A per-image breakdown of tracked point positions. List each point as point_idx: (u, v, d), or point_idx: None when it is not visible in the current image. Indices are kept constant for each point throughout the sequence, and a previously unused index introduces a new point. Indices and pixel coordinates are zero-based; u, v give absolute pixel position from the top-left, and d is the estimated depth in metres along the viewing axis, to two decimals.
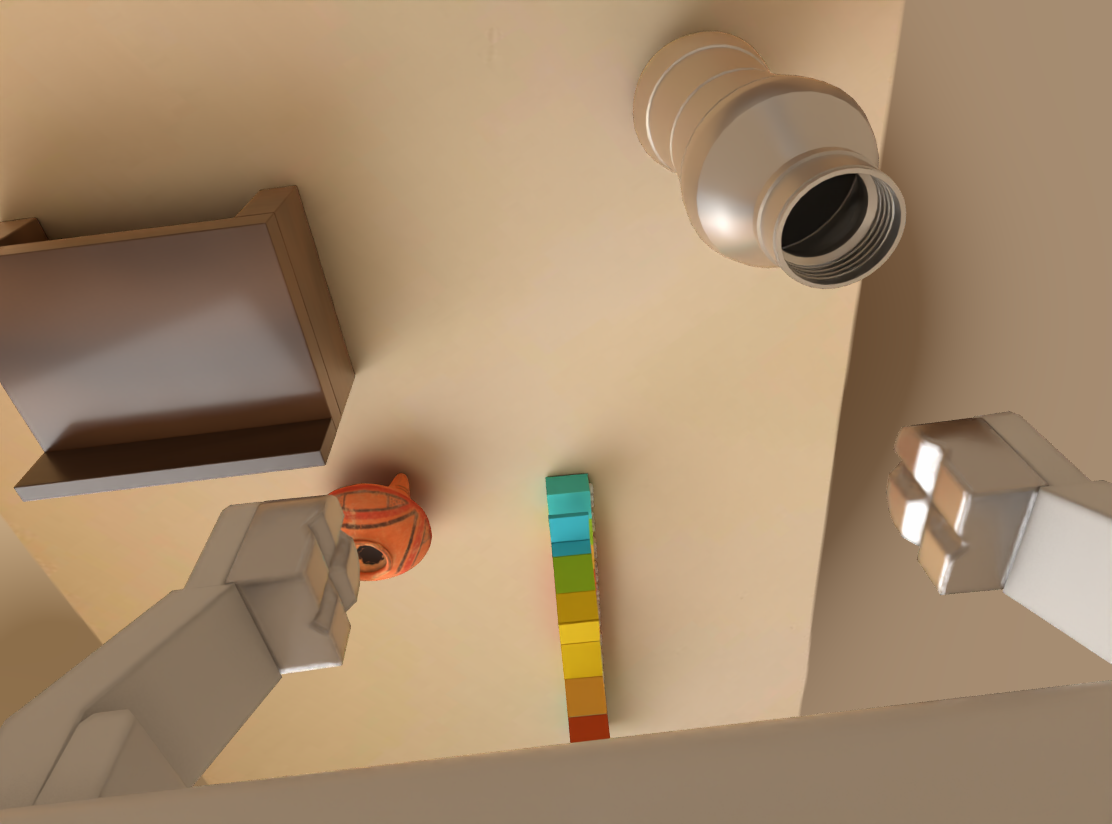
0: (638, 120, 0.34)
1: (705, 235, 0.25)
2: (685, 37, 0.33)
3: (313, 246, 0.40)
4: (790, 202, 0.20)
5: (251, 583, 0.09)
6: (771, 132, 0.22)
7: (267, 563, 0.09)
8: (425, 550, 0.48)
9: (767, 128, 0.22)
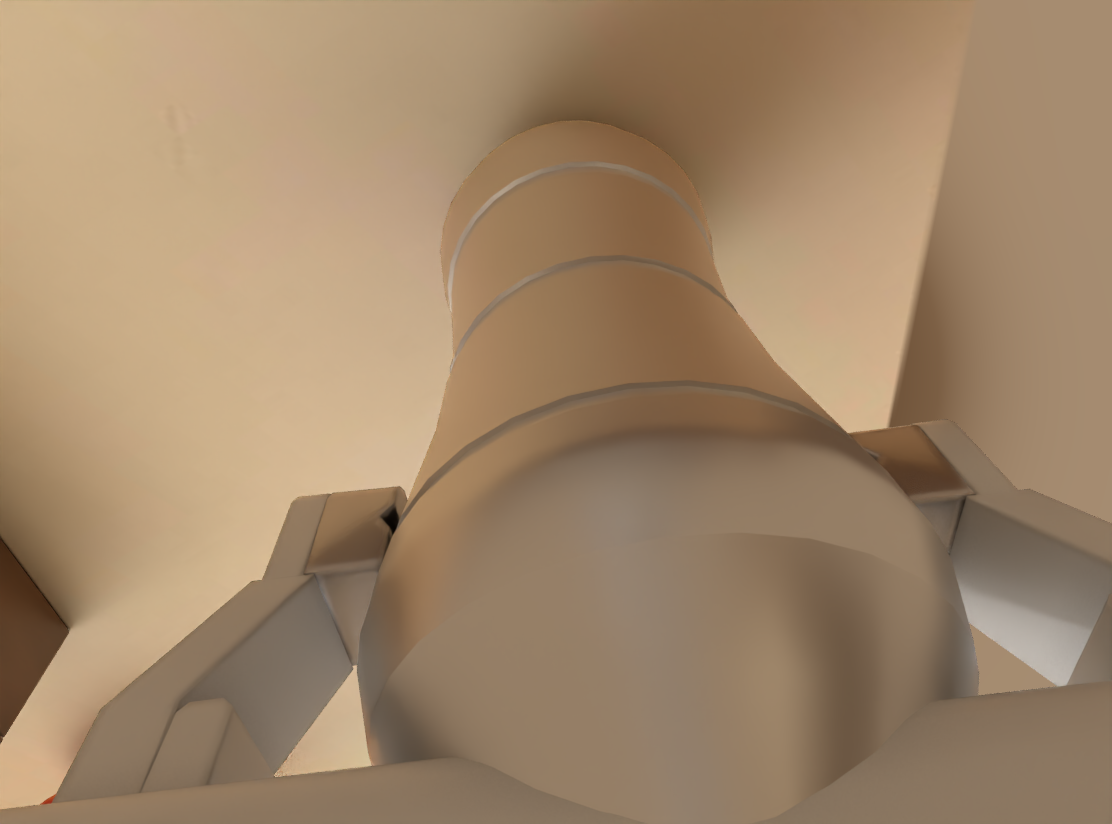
0: None
1: None
2: (527, 136, 0.16)
3: None
4: None
5: (329, 574, 0.09)
6: (568, 738, 0.05)
7: (344, 554, 0.09)
8: None
9: (553, 711, 0.05)
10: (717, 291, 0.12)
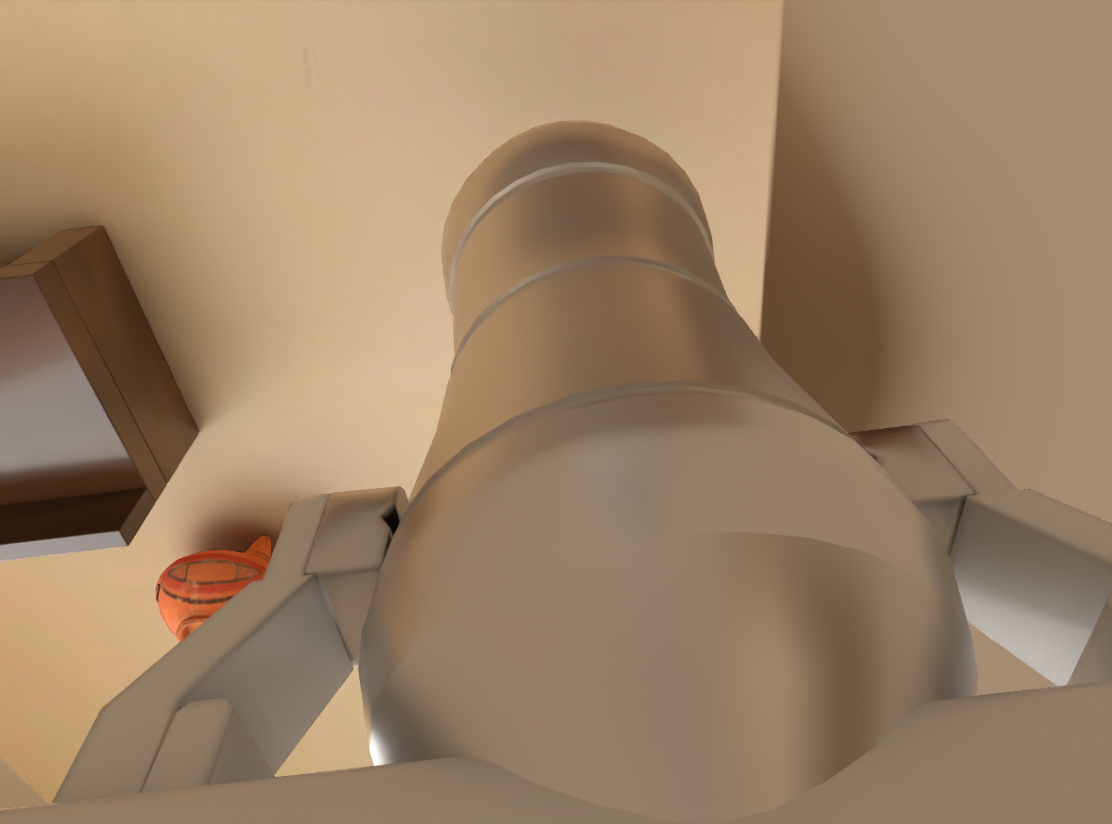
0: None
1: None
2: (528, 137, 0.16)
3: (130, 292, 0.35)
4: None
5: (330, 574, 0.09)
6: (568, 736, 0.05)
7: (344, 554, 0.09)
8: None
9: (553, 709, 0.05)
10: (717, 291, 0.12)
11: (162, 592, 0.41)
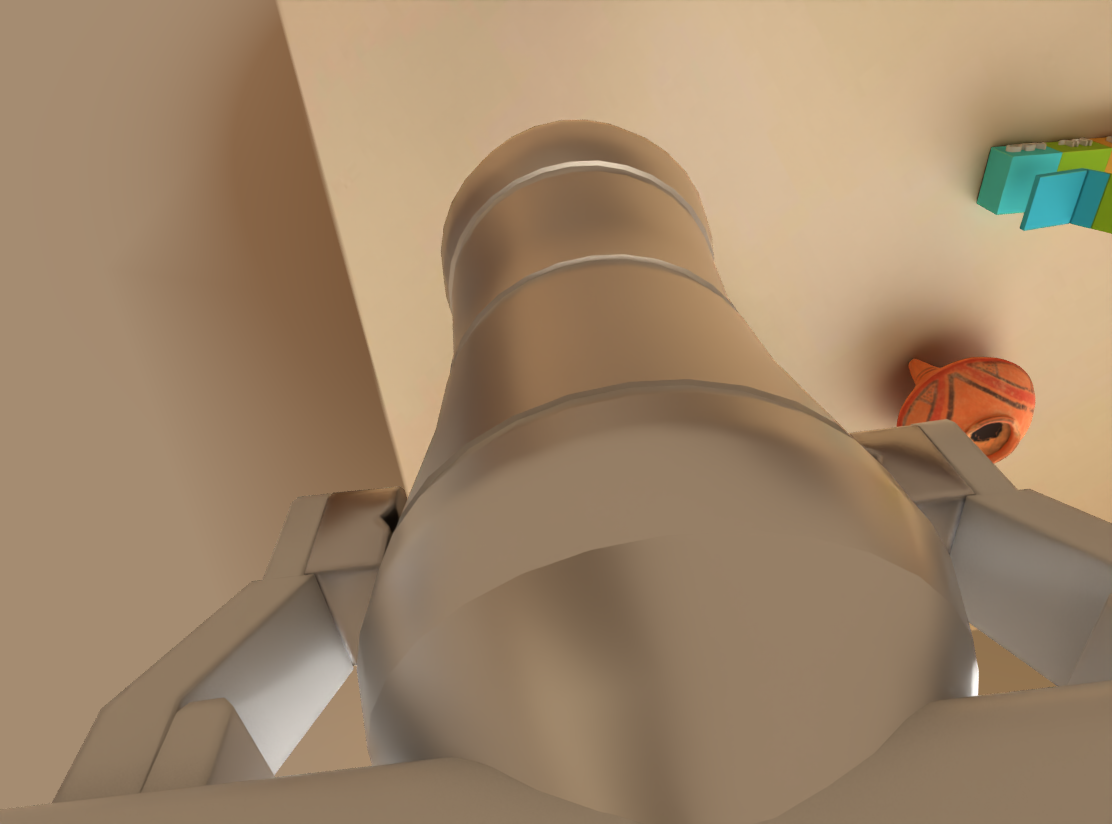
0: (446, 291, 0.17)
1: None
2: (528, 136, 0.16)
3: None
4: None
5: (330, 574, 0.09)
6: (566, 737, 0.05)
7: (344, 554, 0.09)
8: (1011, 370, 0.40)
9: (552, 709, 0.05)
10: (717, 290, 0.12)
11: None
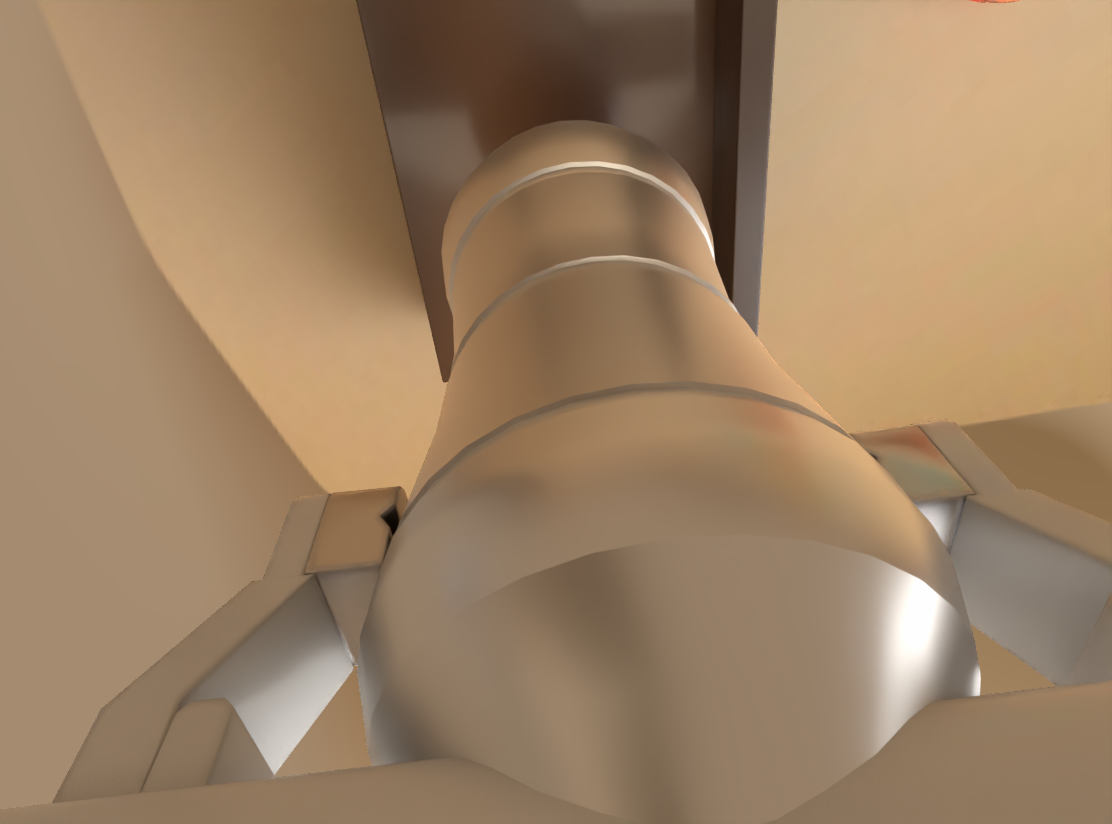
0: None
1: None
2: (528, 136, 0.16)
3: None
4: None
5: (330, 574, 0.09)
6: (568, 741, 0.05)
7: (344, 554, 0.09)
8: None
9: (553, 713, 0.05)
10: (718, 291, 0.12)
11: None
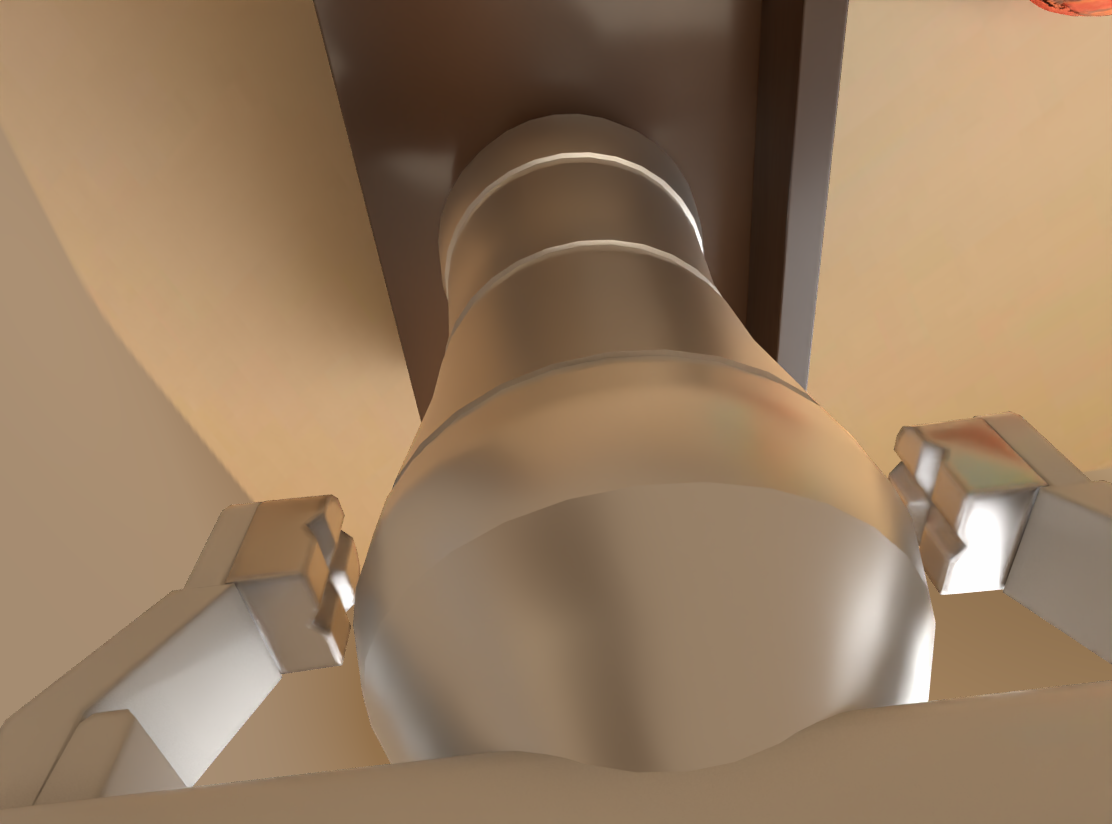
0: None
1: None
2: (522, 129, 0.17)
3: None
4: None
5: (251, 583, 0.09)
6: (543, 667, 0.06)
7: (267, 563, 0.09)
8: None
9: (531, 642, 0.06)
10: (702, 275, 0.12)
11: None
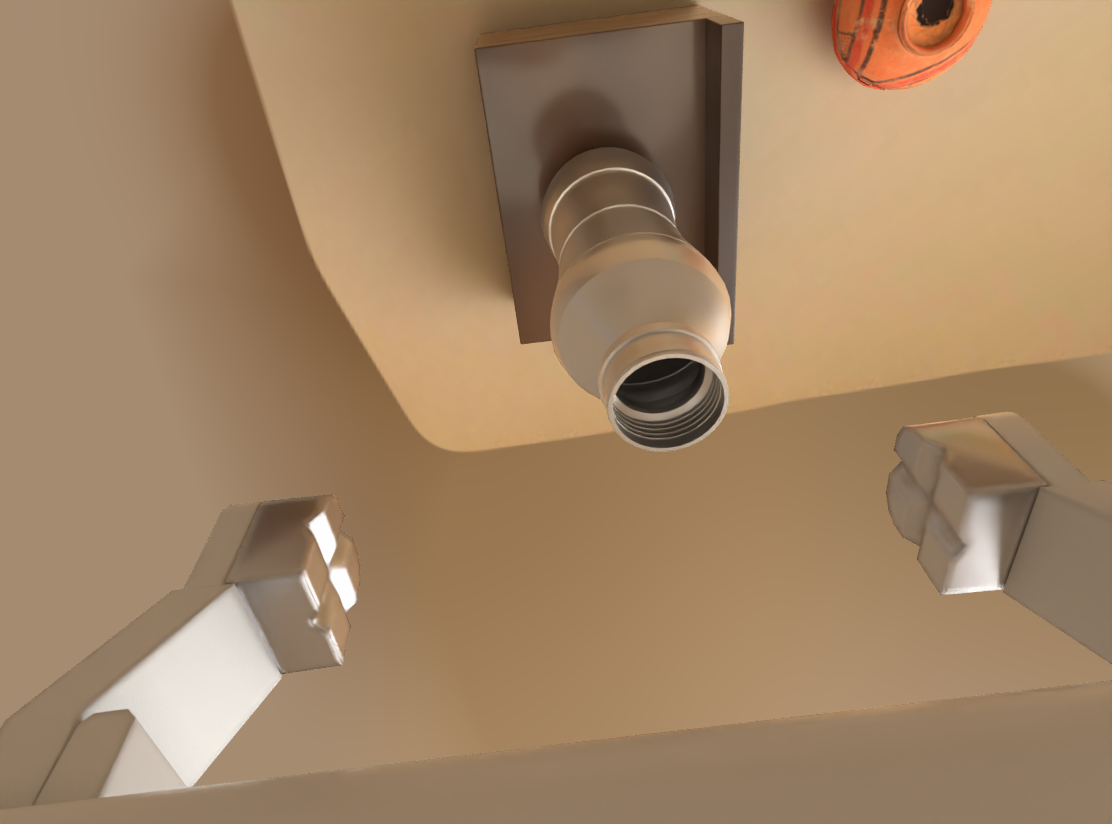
0: (544, 231, 0.35)
1: (572, 378, 0.26)
2: (586, 155, 0.34)
3: (539, 26, 0.39)
4: (617, 381, 0.21)
5: (251, 583, 0.09)
6: (616, 299, 0.23)
7: (267, 563, 0.09)
8: None
9: (613, 295, 0.23)
10: (668, 219, 0.30)
11: (866, 70, 0.37)
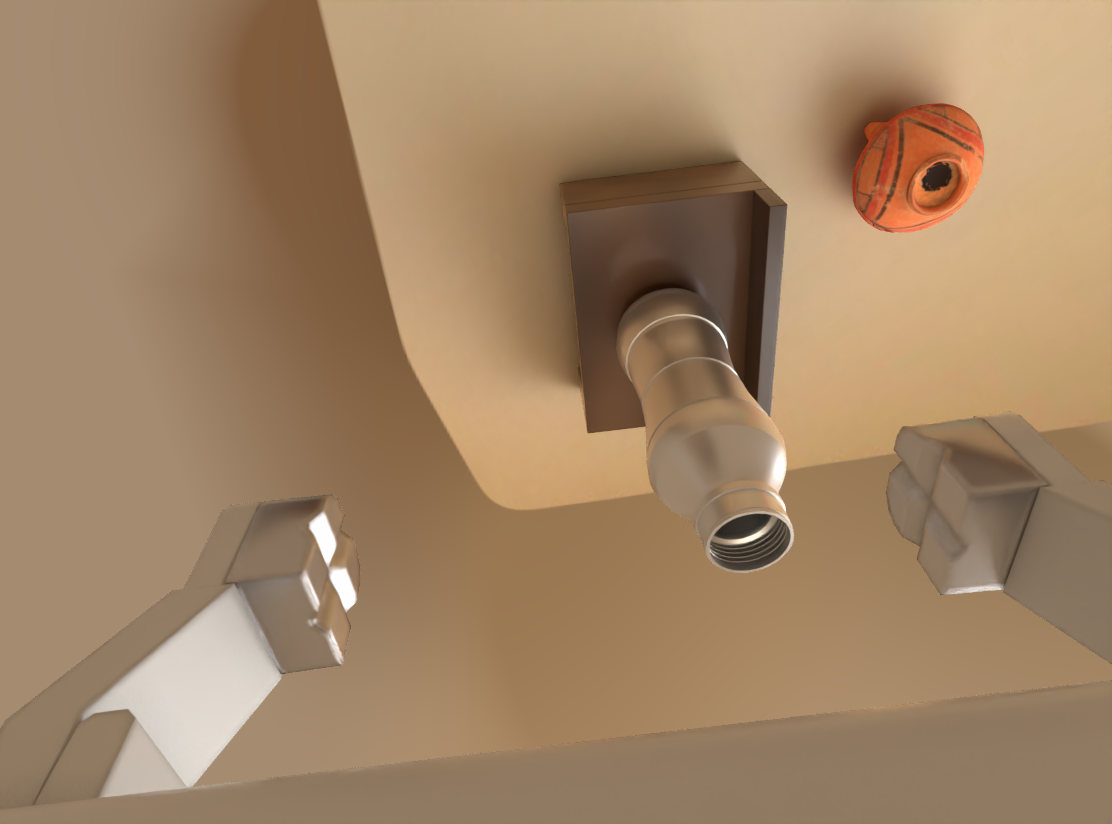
0: (620, 357, 0.43)
1: (664, 503, 0.34)
2: (656, 299, 0.42)
3: (610, 178, 0.47)
4: (714, 528, 0.29)
5: (251, 583, 0.09)
6: (707, 457, 0.31)
7: (267, 563, 0.09)
8: (959, 113, 0.42)
9: (704, 453, 0.31)
10: (730, 367, 0.38)
11: (879, 221, 0.45)
